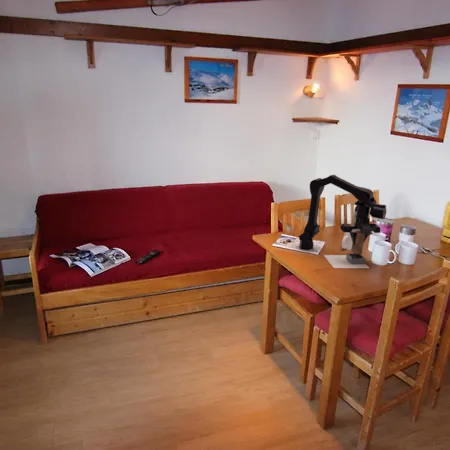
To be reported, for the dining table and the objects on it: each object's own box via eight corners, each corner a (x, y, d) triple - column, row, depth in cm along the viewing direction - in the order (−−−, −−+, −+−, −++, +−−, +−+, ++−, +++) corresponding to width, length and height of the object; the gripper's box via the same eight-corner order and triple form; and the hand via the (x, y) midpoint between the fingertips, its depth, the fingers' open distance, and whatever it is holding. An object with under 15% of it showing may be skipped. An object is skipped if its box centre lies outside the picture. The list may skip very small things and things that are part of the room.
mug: (346, 254, 218) (349, 236, 214) (334, 249, 224) (337, 232, 221) (360, 250, 224) (363, 232, 221) (348, 245, 231) (350, 228, 227)
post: (354, 254, 203) (357, 233, 199) (351, 251, 207) (354, 230, 203) (361, 254, 203) (365, 233, 200) (358, 251, 207) (362, 230, 204)
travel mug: (366, 233, 252) (370, 205, 247) (353, 232, 252) (357, 205, 247) (362, 229, 260) (366, 202, 254) (349, 228, 260) (354, 201, 254)
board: (333, 269, 198) (334, 267, 198) (323, 256, 213) (323, 255, 213) (369, 269, 200) (369, 268, 199) (356, 257, 215) (356, 255, 214)
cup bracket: (351, 264, 203) (352, 258, 202) (345, 258, 210) (346, 253, 209) (364, 264, 203) (365, 258, 202) (359, 258, 210) (360, 253, 209)
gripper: (350, 219, 190) (345, 250, 195) (388, 220, 192) (382, 250, 197) (342, 212, 201) (337, 241, 206) (378, 213, 202) (372, 242, 207)
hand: (357, 244), depth 204 cm, fingers closed on post, 4 cm apart
